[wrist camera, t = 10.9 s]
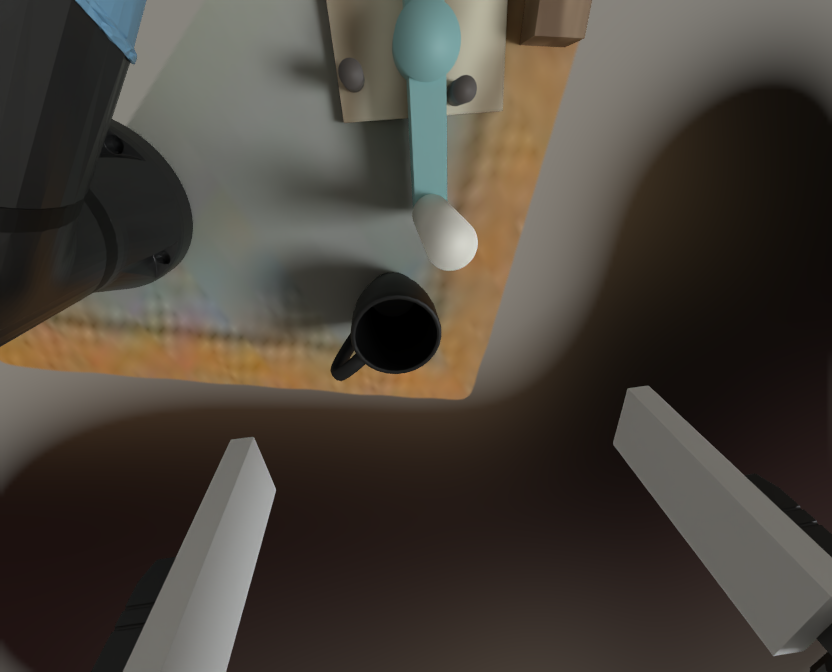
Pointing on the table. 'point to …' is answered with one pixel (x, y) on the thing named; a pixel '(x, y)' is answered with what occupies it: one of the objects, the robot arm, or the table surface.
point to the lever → (431, 126)
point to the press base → (376, 71)
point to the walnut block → (554, 22)
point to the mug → (390, 329)
